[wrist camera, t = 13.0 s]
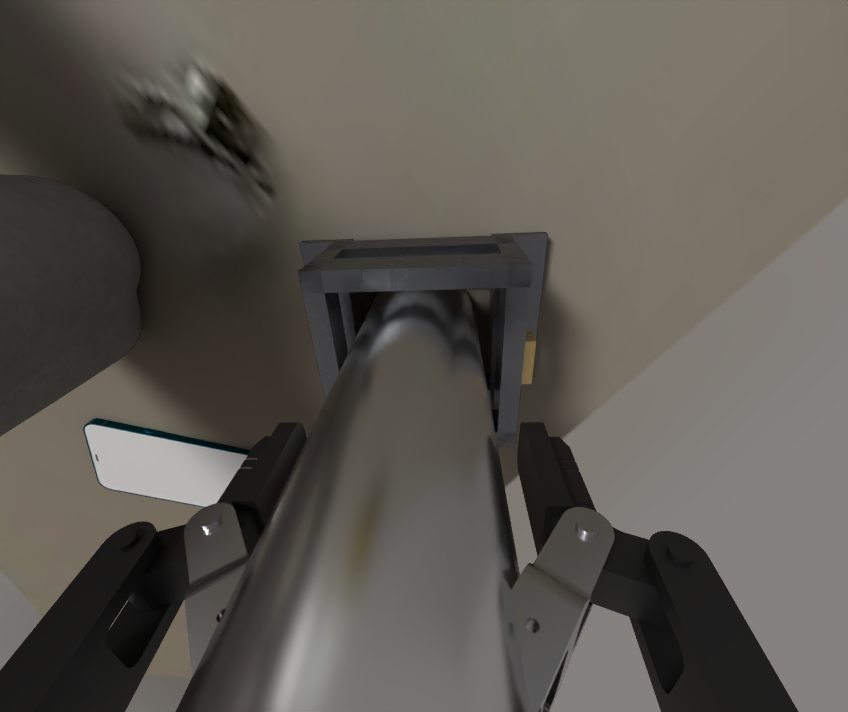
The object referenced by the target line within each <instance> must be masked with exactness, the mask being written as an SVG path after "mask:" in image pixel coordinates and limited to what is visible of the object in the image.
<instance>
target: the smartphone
mask: <svg viewBox="0 0 848 712" xmlns="http://www.w3.org/2000/svg"><path fill="white" fill-rule="evenodd" d="M83 431H84V434H85V438H86V441H87V445H88V448H89V452H90V455H91V459H92V462H93V466H94V469H95V473H96V476H97V480H98V482H99V483H100V484H101V485H102V486H103V487H105V488H107V489H110V490H114V491H120V492H125V493H130V494H136V495H141V496H146V497H152V498H157V499H162V500H168V501H173V502H178V503H184V504H189V505H194V506H200V507H207V506H209V505H212V504H215V503H217V502H218V500H219V499H220V497H221V495H222V494H223V492H224V491H225V489H226V488H227V486H228V485H229V483H230V482H231V480H232V479H233V477H234V475H235V474H236V472H237V471H238V469H240V466H241V465H242V463H243V462H244V460H246V457H247V455H248V454H249V452H250V451H251V450H246V449H242V448H237V447H232V446H227V445H223V444H218V443H213V442H208V441H204V440H199V439H194V438H190V437H185V436H180V435H175V434H171V433H166V432H162V431H157V430H152V429H147V428H142V427H138V426H133V425H128V424H123V423H119V422H114V421H109V420H104V419H98V418H95V419H92V420H91V421H90V422H88V423H87V424H86V425H85V426H84V428H83Z"/></svg>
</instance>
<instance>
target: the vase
mask: <svg viewBox="0 0 848 712" xmlns="http://www.w3.org/2000/svg"><path fill="white" fill-rule="evenodd" d="M140 273H141V266H140V257H139V254H138V250H137V247H136V245H135V243H134V241H133V239H132V237H131V235H130V234H129V232H128V231H127V229H126V228H125V227H124V225H123V224H122V223H121V222H120V221H119V219H118V218H117V217H116V216H115V215H114V214H113V213H112V212H110V211H109V210H108V209H107V208H106V207H105V206H103V205H102V204H101V203H99V202H98V201H97V200H95V199H94V198H92V197H90V196H89V195H87V194H85V193H83V192H82V191H80V190H78V189H76V188H73V187H71V186H69V185H66V184H64V183H61V182H57V181H54V180H50V179H45V178H39V177H33V176H23V175H0V436H2V435H3V434H5V433H6V432H8V431H9V430H11V429H13V428H14V427H16V426H17V425H19V424H21V423H22V422H24V421H25V420H27V419H28V418H30V417H32V416H33V415H35V414H36V413H38V412H39V411H41V410H43V409H44V408H46V407H47V406H49V405H50V404H52V403H54V402H55V401H57V400H58V399H60V398H61V397H63V396H64V395H66V394H67V393H69V392H70V391H72V390H73V389H75V388H77V387H78V386H80V385H81V384H83V383H84V382H86V381H87V380H89V379H90V378H92V377H93V376H95V375H96V374H98V373H99V372H101V371H103V370H104V369H106V368H107V367H109V366H110V365H112V364H113V363H115V362H116V361H118V360H119V359H120V358H122V357H123V356H124V355H126V354H127V353H128V352H129V351H130V349H131V348H132V347H133V346H134V344H135V343H136V341H137V339H138V337H139V334H140V330H141V311H140V305H139V301H138V297H137V293H136V292H137V287H138V283H139V279H140Z"/></svg>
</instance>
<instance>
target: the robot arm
mask: <svg viewBox="0 0 848 712" xmlns="http://www.w3.org/2000/svg"><path fill="white" fill-rule="evenodd" d="M306 440H307V438H306V434H305V430H304V427H303V424H302V423H279V424H278V426H277V427H276V429H275V430H274V432H273V434H272V435H271V437H264V438H263V439H262V440H260V441H259V442H258V443H257V444H256V445H254V446H253V448H252V449H251V451H250V452H249V454H248V455H247V457H246V460H244V462H243V463H242V465H241V466H240V469H238V471H237V472H236V474H235V475H234V477H233V479H232V480H231V482H230V483H229V485H228V486H227V488H226V489H225V491H224V492H223V494H222V495H221V497H220V499H219V500H218V502H217V503H215V504H212V505H209V506H207V507H205V508H203V509H201V510H200V511H198V512H197V513H196V514H195V515H193V516H192V517H191V519H190V520H189V521H188V523H187V524H185V525H182V526H178V527H174V528H170V529H166V530H162V531H159V532H157V530H156V529H155V527H154V525H153V524H151V523H149V522H137V523H133V524H130V525H127V526H125V527H123V528H121V529H120V530H118V531H117V532H115V533H114V534H112V535H111V536H110V537H109V538H108V539H107V540H106V541H105V542H104V543H103V544H102V545H101V546H100V548H99V549H98V550H97V551H96V553H95V554H94V555H93V556H92V558H91V559H90V560H89V561H88V563H87V564H86V565H85V566H84V567H83V569H82V570H81V571H80V572H79V574H78V575H77V576H76V577H75V579H74V580H73V581H72V582H71V584H70V585H69V586H68V587H67V589H66V590H65V591H64V592H63V593H62V595H61V596H60V597H59V598H58V600H57V601H56V602H55V603H54V605H53V606H52V607H51V608H50V610H49V611H48V612H47V613H46V615H45V616H44V617H43V618H42V619H41V621H40V622H39V623H38V624H37V626H36V627H35V628H34V629H33V631H32V632H31V633H30V634H29V636H28V637H27V638H26V639H25V641H24V642H23V643H22V644H21V646H20V647H19V648H18V649H17V650H16V652H15V653H14V654H13V655H12V657H11V658H10V659H9V660H8V662H7V663H6V664H5V665H4V667H3V668H2V669H1V670H0V712H125V710H126V709H127V707H128V705H129V703H130V701H131V699H132V697H133V695H134V693H135V691H136V690H137V688H138V686H139V684H140V682H141V680H142V678H143V676H144V674H145V673H146V671H147V669H148V667H149V665H150V663H151V661H152V659H153V657H154V655H155V654H156V652H157V650H158V648H159V646H160V644H161V642H162V640H163V638H164V636H165V635H166V633H167V631H168V629H169V627H170V625H171V623H172V621H173V619H174V617H175V616H176V614H177V612H178V610H179V608H180V606H181V604H182V602H183V600H185V609H186V619H187V628H188V638H189V648H190V658H191V668H192V677H193V675H194V673H195V671H196V668H197V666H198V664H199V662H200V660H201V658H202V656H203V654H204V652H205V650H206V648H207V646H208V644H209V642H210V639H211V637H212V635H213V633H214V631H215V629H216V627H217V625H218V623H219V621H220V619H221V617H222V615H223V612H224V610H225V608H226V606H227V604H228V602H229V600H230V598H231V596H232V594H233V592H234V590H235V588H236V585H237V583H238V581H239V579H240V577H241V575H242V573H243V571H244V569H245V567H246V565H247V563H248V561H249V558H250V556H251V554H252V552H253V550H254V548H255V546H256V544H257V542H258V540H259V538H260V536H261V534H262V531H263V529H264V527H265V525H266V523H267V521H268V519H269V517H270V515H271V513H272V511H273V509H274V507H275V505H276V502H277V500H278V498H279V496H280V494H281V492H282V490H283V488H284V486H285V484H286V482H287V480H288V478H289V475H290V473H291V471H292V469H293V467H294V465H295V463H296V461H297V459H298V457H299V455H300V453H301V451H302V448H303V446H304V444H305V442H306ZM517 461H518V471H519V476H520V480H521V484H522V489H523V494H524V498H525V502H526V507H527V511H528V516H529V520H530V525H531V529H532V533H533V538H534V542H535V547H536V551H537V556H538V557H537V559H536V560H535V562H534V563H533V564H531V563H529V564H528V565H527V566H526V567H525V568H524V570H523V571H522V573H521V575H520V576H519V578H518V580H517V581H516V583H515V585H514V586H513V588H512V590H511V591H512V598H513V604H514V611H515V618H516V624H517V631H518V638H519V644H520V651H521V658H522V664H523V671H524V678H525V684H526V691H527V698H528V704H529V711H530V712H541V710H542V707H543V712H550V710H551V708H552V705H553V703H554V701H555V698H556V696H557V693H558V691H559V688H560V686H561V683H562V681H563V678H564V676H565V673H566V670H567V668H568V665H569V662H570V659H571V657H572V654H573V652H574V650H575V647H576V645H577V642H578V640H579V638H580V635H581V633H582V630H583V628H584V626H585V623H586V621H587V618H588V616H589V613H590V611H591V609H592V606H593V604H596V605H599V606H601V607H604V608H607V609H610V610H612V611H615V612H618V613H620V614H623V615H626V616H629V617H630V620H631V623H632V626H633V629H634V632H635V635H636V638H637V641H638V644H639V647H640V650H641V653H642V656H643V659H644V662H645V665H646V668H647V671H648V674H649V677H650V680H651V683H652V686H653V689H654V692H655V695H656V698H657V701H658V704H659V707H660V710H661V712H798V710H797V708H796V707H795V705H794V703H793V702H792V700H791V698H790V696H789V695H788V693H787V691H786V690H785V688H784V686H783V684H782V683H781V681H780V679H779V677H778V676H777V674H776V673H775V671H774V669H773V667H772V665H771V664H770V662H769V660H768V659H767V657H766V655H765V653H764V652H763V650H762V648H761V646H760V645H759V643H758V641H757V640H756V638H755V636H754V634H753V633H752V631H751V629H750V627H749V626H748V624H747V622H746V620H745V619H744V617H743V616H742V614H741V612H740V610H739V608H738V607H737V605H736V604H735V601H734V600H733V598H732V596H731V595H730V593H729V591H728V589H727V588H726V586H725V584H724V583H723V581H722V579H721V577H720V576H719V574H718V572H717V570H716V569H715V567H714V565H713V564H712V562H711V560H710V558H709V557H708V555H707V554H706V552H705V551H704V550H703V549H702V548H701V547H700V546H699V545H698V544H697V543H695V542H694V541H692V540H691V539H689V538H688V537H686V536H684V535H681V534H679V533H675V532H670V531H661V532H657V533H655V534H653V535H652V536H651V538H650V540H648V539H644V538H641V537H638V536H634V535H631V534H627V533H624V532H621V531H619V530H617V529H615V528H613V527H612V526H611V524H610V523H609V521H608V520H607V519H606V518H605V517H604V516H602V515H601V514H600V513H598V512H597V511H596V509H595V507H594V505H593V502H592V500H591V498H590V495H589V493H588V491H587V488H586V486H585V483H584V481H583V478H582V476H581V474H580V472H579V469H578V466H577V464H576V462H575V459H574V457H573V454H572V452H571V449H570V447H569V446H568V445H567V444H566V443H565V442H564V441H563V440H562V439H561V438H560V437H549V436H548V434H547V431H546V428H545V425H544V423H542V422H522V423H521V426H520V435H519V445H518V455H517ZM127 600H128V602H127V603H126V601H127ZM125 603H126V605H125V607H124V608H123V606H124V604H125ZM122 608H123V610H122V611H121V609H122ZM120 611H121V613H120V614H119V612H120ZM118 614H119V616H118V617H117V615H118ZM116 617H117V619H116V620H115V618H116ZM114 620H115V622H114V624H113V625H112V623H113V621H114ZM111 625H112V627H111V628H110V626H111ZM109 628H110V630H109Z"/></svg>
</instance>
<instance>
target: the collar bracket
mask: <svg viewBox="0 0 848 712" xmlns="http://www.w3.org/2000/svg"><path fill="white" fill-rule="evenodd" d="M547 237H548V234H547V233H546V232H531V233H504V234H492V236H472V237H445V238H417V239H390V240H363V241H353V239H342V240H316V241H302V242H301V243H300V248H301V253H302V257H303V262H304V267H303V268H301V269H300V270H299V271H298V275H299V280H300V284H301V289H302V294H303V298H304V303H305V308H306V313H307V317H308V322H309V327H310V331H311V336H312V341H313V345H314V350H315V355H316V359H317V364H318V369H319V373H320V378H321V383H322V387H323V392H324V397H325V401H326V399H327V397H328V394H329V392H330V390H331V388H332V386H333V384H334V382H335V380H336V378H337V376H338V374H339V372H340V370H341V368H342V365H343V363H344V361H345V359H346V357H347V355H348V353H349V351H350V349H351V347H352V345H353V343H354V341H355V338H356V336H357V334H358V332H359V330H360V328H361V326H362V324H363V322H362V315H361V308H360V300H359V293H358V292H378V291H415V290H451V289H488V288H490V309H489V333H488V357H487V369H486V373H485V378H486V384H487V390H488V395H489V401H490V407H491V413H492V418H493V424H494V430H495V436H496V441H497V447H515V444H516V434H517V423H518V413H519V402H520V392H521V386H531V384H532V375H533V366H534V357H535V348H536V336H537V327H538V318H539V309H540V300H541V291H542V282H543V273H544V264H545V255H546V246H547Z"/></svg>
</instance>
